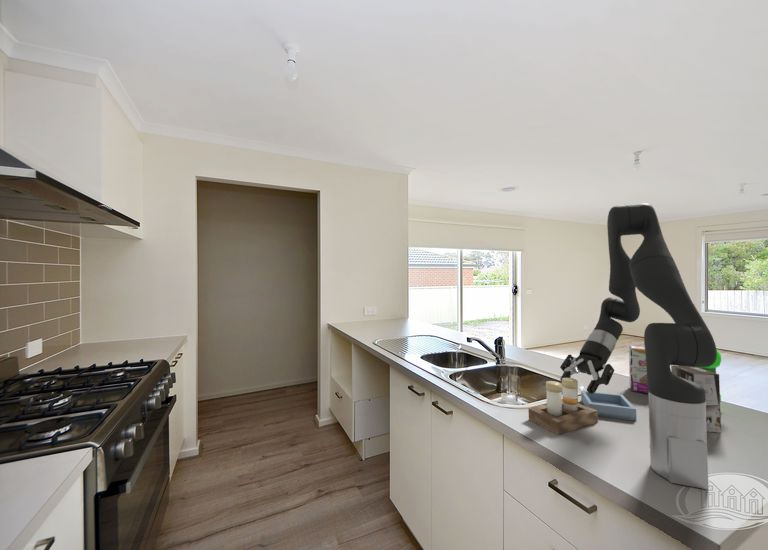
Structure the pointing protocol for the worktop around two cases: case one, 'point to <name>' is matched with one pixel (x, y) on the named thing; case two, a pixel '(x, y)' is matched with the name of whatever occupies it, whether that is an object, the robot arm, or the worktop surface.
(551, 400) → the cylinder
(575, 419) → the fuse holder
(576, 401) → the cylinder
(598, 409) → the tray
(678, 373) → the coffee box
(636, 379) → the candy bar box
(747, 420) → the worktop surface
